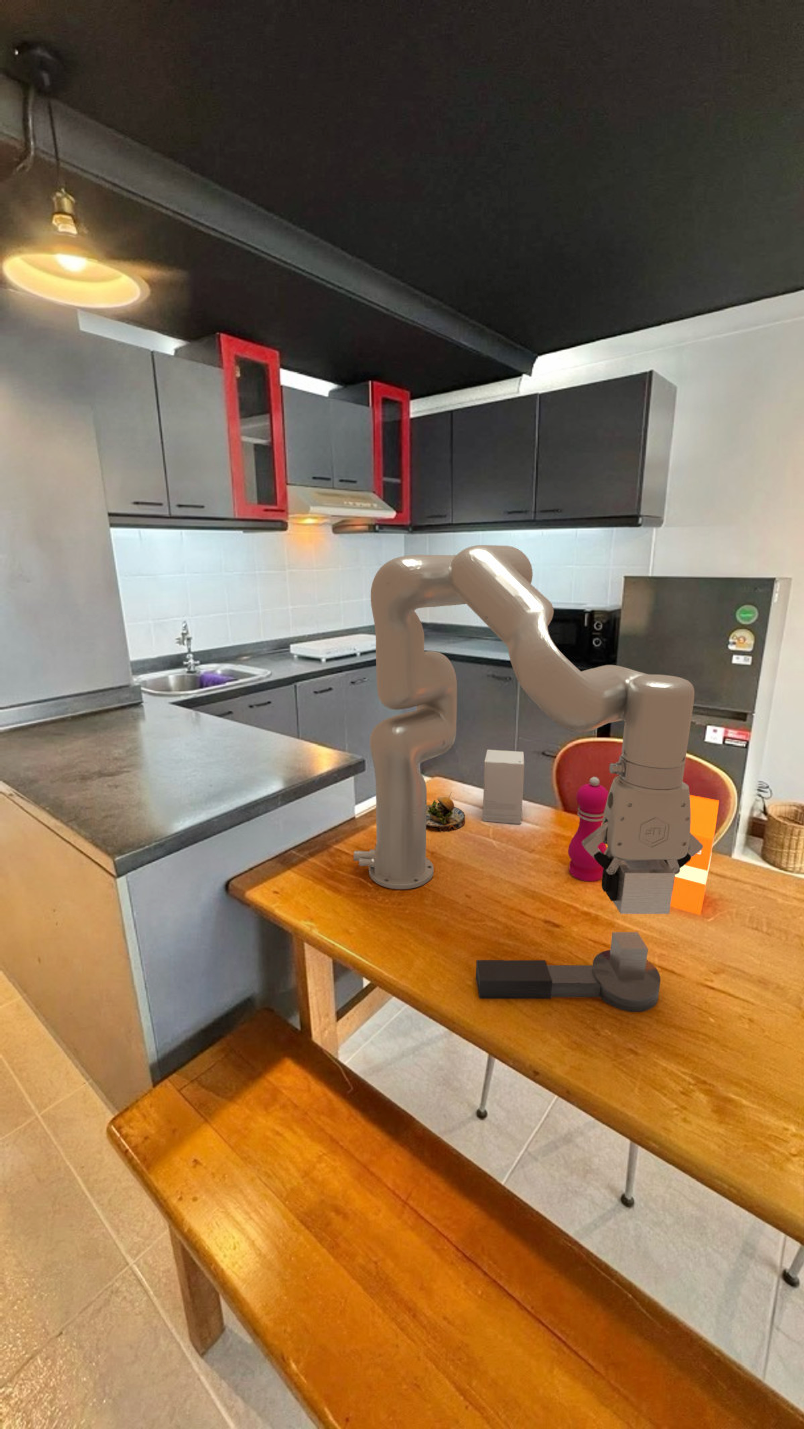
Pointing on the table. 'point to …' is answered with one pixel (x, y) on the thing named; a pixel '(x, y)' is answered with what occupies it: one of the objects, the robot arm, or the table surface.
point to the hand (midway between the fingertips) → (635, 894)
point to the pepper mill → (588, 831)
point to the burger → (444, 815)
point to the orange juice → (696, 857)
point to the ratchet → (578, 977)
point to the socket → (644, 887)
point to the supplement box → (503, 786)
